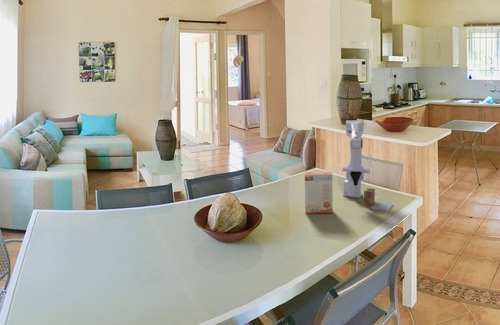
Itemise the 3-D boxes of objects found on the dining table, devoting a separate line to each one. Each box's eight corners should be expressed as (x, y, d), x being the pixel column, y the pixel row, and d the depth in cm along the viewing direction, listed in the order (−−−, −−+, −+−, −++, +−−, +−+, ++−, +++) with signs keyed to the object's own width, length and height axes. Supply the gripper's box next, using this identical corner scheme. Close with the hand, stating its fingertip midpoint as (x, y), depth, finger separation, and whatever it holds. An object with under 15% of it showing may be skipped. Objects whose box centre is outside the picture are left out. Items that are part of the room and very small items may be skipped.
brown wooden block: (363, 206, 232) (364, 191, 230) (367, 203, 237) (367, 188, 235) (371, 207, 230) (371, 191, 228) (374, 204, 235) (374, 189, 233)
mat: (370, 209, 227) (370, 208, 227) (376, 202, 237) (376, 202, 237) (388, 211, 222) (388, 210, 222) (393, 204, 232) (393, 204, 232)
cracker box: (331, 209, 228) (331, 171, 224) (332, 213, 222) (332, 174, 218) (304, 210, 230) (304, 171, 225) (305, 213, 224) (304, 174, 219)
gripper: (340, 161, 232) (340, 185, 235) (367, 163, 225) (367, 188, 227) (344, 158, 238) (344, 182, 241) (371, 160, 231) (370, 185, 233)
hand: (355, 185), depth 234 cm, fingers closed
